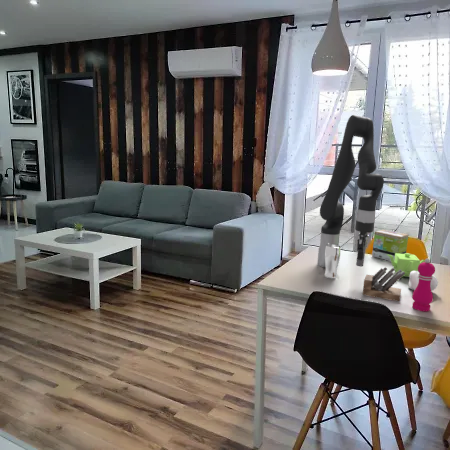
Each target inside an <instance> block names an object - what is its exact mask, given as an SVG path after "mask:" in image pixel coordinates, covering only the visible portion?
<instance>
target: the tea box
mask: <svg viewBox="0 0 450 450" xmlns="http://www.w3.org/2000/svg"><path fill="white" fill-rule="evenodd" d="M408 242H409V234H407V233H403V232H402V233H401V232H398V231H393V230H387V229H381V230H376V231H374V237H373V243H372V244H373V245H372V252H371V254H372V255H371V256H372V257H373V258H377V259H382V260H386V261H390V262H391V259H390V257H389V256H388V255H392V256H393V258H394V260H395V253H399V254H405V253H407V249H408ZM386 254H388V255H386Z"/></svg>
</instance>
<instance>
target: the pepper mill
mask: <svg viewBox="0 0 450 450" xmlns="http://www.w3.org/2000/svg"><path fill="white" fill-rule="evenodd" d="M424 260H425V262H423V263H420V264H419V266H418V272H419V274H418V275H419V276H418V278H419V283H418V286H417V287H416V289H415V290H413V292H412V296H411V297H412V300H413V302H412V305H411V307H412V308H413V309H414V310H416V311H420V312H429V311H430V310H431V304H432V302H433V301H434V296H433V292H432V291H431V287H430V283H431V280H432V277H433V276H432V275H434V274H435V272H436V266H435V265H434V264H433V263H431V259H430V258H425V259H424Z"/></svg>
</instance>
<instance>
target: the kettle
mask: <svg viewBox="0 0 450 450" xmlns="http://www.w3.org/2000/svg"><path fill="white" fill-rule="evenodd" d="M386 255H388V254H386ZM388 256H389V257H390V259H391V261H390V263H391V266H392V268H394V269H395V270H394V271H393V272H395V273H397V272H398V271H399V270H402V272H404V273H405V274H404V275H403V276H402V277H401V278H400V279H402V278H403V277H406V278H407V277H409V275H410V272H412V271H418V266H419V264H420V263H423V262H425V259H421V260H420V259H419V258H418V257H417V255H415V254H412V253H409V252H406V253H405V254H399V253H395V260H394V258H393V256H392V255H388ZM402 272H401V273H402Z"/></svg>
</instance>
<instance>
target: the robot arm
mask: <svg viewBox="0 0 450 450" xmlns="http://www.w3.org/2000/svg"><path fill="white" fill-rule="evenodd" d="M374 130H375V129H374V121H373V120H372V119H371V118H369V117H367V116H361V115H357V114H351V116H349V118H348V119H347V122H346V125H345V129H344V133H343V138H342V142H341V147H340V150H339V153H338V156H337V159H336V162H335V163H334V167H333V171H332V175H331V177H330V181H329V184H328V187H327V190H326V193H325V196H324V198H323V200H322V202H321V204H320V208H319V215H320V217H321V219H323V220H324V221H325V223H324V224H322V226H321V227H320V240H319V241H320V243H319V247H318V253H317V264H316V265H317V267H318V266H319V267H321V268H325V269H326V266H325V249H326V245H327V244H336V245H339V246H340V236H341V234H340V233H341V230H342V227H343V222H344V218H345V217H344V216H345V215H344V214H345V208H344V205H343V204H342V203H341V202H340V201H339V200H340V198H341V196H342V194H343V192H344V190H345V189H346V188H347V187H348V186H349V184H350V182H351V180H352V178H353V175H354V173H355V169H356V160H355V156H354V153H353V152H354V151H353V139H354V137H356V138H360V139H361V138H362V139H363V144H362V146H361V148H360V149H359V151H358V154H357V163H358V177H357V182H356V186H357V187H358V189H360V190H362V191H371V192H370V193H368V194H364V195H361V196H359V201H358V208H357V209H358V210H357V212H356V218H355V228H354V230H355V231H356V232H359V234H358V235H357V244H356V247H357V248H356V251H357V254H358V256H357V255H356V256H357V257H356V260H357V259H358V260H362V259H363V252H364V247H365V246H366V247H367V245H368V239H369V233H373V232H374V229H375V220H376V208H377V204H378V203H377V202H378V199H379V196H380V194H381V191H382V189H383V187H384V183H385V180H384V176H383V175H382V174H380V173H374V172H375V171H376V169H377V162H376V157H375V152H374V142H375V141H374V139H375V138H374V135H375V134H374V132H375V131H374ZM366 242H367V243H366ZM364 243H365V244H364ZM360 247H362V248H360Z"/></svg>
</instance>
